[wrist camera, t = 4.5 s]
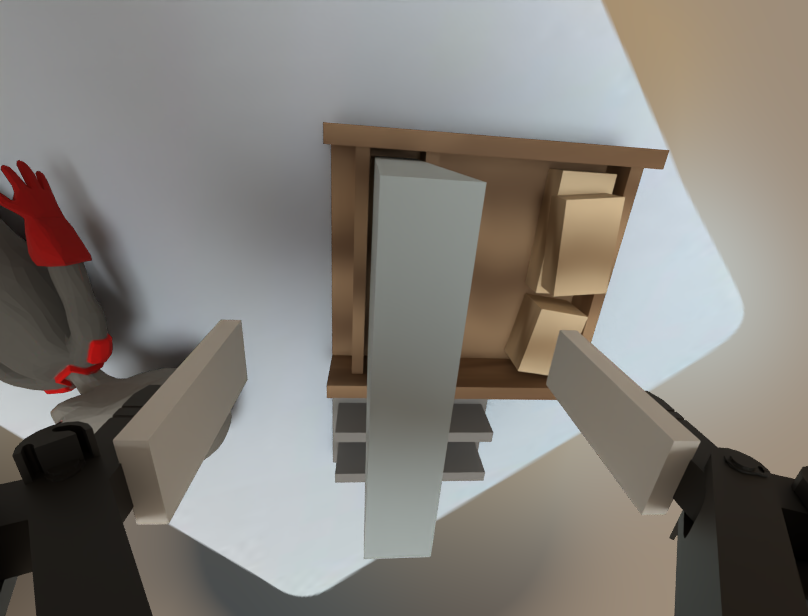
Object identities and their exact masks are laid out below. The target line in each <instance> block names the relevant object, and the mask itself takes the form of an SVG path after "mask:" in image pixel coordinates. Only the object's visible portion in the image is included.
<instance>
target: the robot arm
mask: <svg viewBox="0 0 808 616" xmlns="http://www.w3.org/2000/svg"><path fill="white" fill-rule="evenodd" d="M247 380H248V379H247V370H246V360H245V351H244V342H243V332H242V323H241V320H220V321H219V322H218V323H217V325H216V326H215V327H214V328H213V329H212V330H211V331H210V332H209V333H208V335H207V336H206V337H205V338H204V339H203V340H202V341H201V342H200V343H199V345H198V346H197V347H196V348H195V349H194V350H193V351H192V352H191V354H190V355H189V356H188V357H187V358H186V359H185V360H184V361H183V362H182V364H181V365H180V366H179V367H178V368H177V369H176V370H175V371H174V373H173V374H172V375H171V376H170V377H169V378H168V379H167V380H166V381H165V383H164V384H163V385H148V386H146V387H145V388H143V389H141V390H140V391H138V392H136V393H134V394H133V395H132V396H131V397H130V398H129V399H128V400H127V401H126V402H125V403H124V404H123V405H122V408H119V409H118V410H117V411H116V412H115V413H114V414H113V415H112V418H109V419H108V420H107V421H106V422H105V423H104V424H103V425H102V426H101V427H100V428H99V429H98V431H97V432H96V433H95V434H94V431H93V428H92V427H91V426H90V425H89V424H88V423H84V422H80V421H75V422H64V423H60V424H56V425H52V426H49V427H47V428H44V429H42V430H40V431H37V432H35V433H34V434H32V435H30V436H29V437H27V438H25V439H24V440H23V441H22V442H21V443H20V444H19V445H18V446H17V447H16V448H15V450H14V453H13V458H14V461H15V462H16V465H17V467H18V470H19V472H20V474H21V477H22V479H23V480H19V481H14V482H10V483H5V484H0V616H5V615H6V611H7V608H8V605H9V602H10V599H11V595H12V592H13V589H14V586H15V583H16V580H17V577H18V576H19V575H22V574H26V573H29V572H33V582H34V593H35V605H36V615H37V616H152V612H151V609H150V606H149V603H148V600H147V597H146V594H145V590H144V588H143V584H142V581H141V578H140V575H139V572H138V569H137V566H136V563H135V559H134V556H133V553H132V550H131V547H130V544H129V541H128V538H127V535H126V531H125V528H124V525H123V522H124V521H125V519H126V518H127V516H128V514H129V513H130V512H131V510H132V509H133V512H134V515H135V519H136V522H137V525H140V524H141V525H142V524H169V522H170V520H171V519H172V517H173V515H174V513H175V511H176V510H177V508H178V506H179V504H180V502H181V500H182V499H183V497H184V495H185V493H186V491H187V489H188V488H189V486H190V484H191V482H192V480H193V478H194V477H195V475H196V473H197V471H198V469H199V467H200V466H201V464H202V462H203V460H204V458H205V456H206V455H207V453H208V451H209V449H210V447H211V446H212V444H213V442H214V440H215V438H216V436H217V435H218V433H219V431H220V429H221V427H222V425H223V424H224V422H225V420H226V418H227V416H228V414H229V413H230V411H231V409H232V407H233V405H234V403H235V402H236V400H237V398H238V396H239V394H240V393H241V391H242V389H243V387H244V385H245V383H246V382H247ZM546 385H547V387H548V388H549V389H550V391H551V392H552V393H553V395H554V396H555V397H556V399H557V400H558V402H559V403H560V404H561V406H562V407H563V408H564V410H565V411H566V412H567V414H568V415H569V417H570V418H571V419H572V421H573V422H574V423H575V425H576V426H577V427H578V429H579V430H580V432H581V433H582V434H583V436H584V437H585V438H586V440H587V441H588V442H589V444H590V445H591V447H592V448H593V449H594V450H595V452H596V453H597V455H598V456H599V457H600V459H601V460H602V462H603V463H604V464H605V466H606V467H607V468H608V470H609V471H610V472H611V474H612V475H613V477H614V478H615V479H616V481H617V482H618V483H619V485H620V486H621V487H622V489H623V490H624V492H625V493H626V494H627V496H628V497H629V498H630V500H631V501H632V502H633V504H634V505H635V507H636V508H637V509H638V511H639V512H640V513H641V515H665V514H666V513H667V511H668V509H669V507H670V505H671V503H672V501H673V499H674V500H675V501H676V502H677V503H678V505H679V506H680V507H681V508H682V509H683V511H682V513H681V515H680V517H679V519H678V521H677V523H676V525H675V527H674V529H673V531H672V533H671V535H670V539H672V540H674V539H675V537H676V536H677V535H678V541H677V566H676V591H675V615H674V616H808V466H806V467H802V469H801V471H800V472H799V474H798V475H797V477H796V478H795V479H792V478H788V477H783V476H779V475H775V474H771V473H770V471H769V470H768V469H767V468H765V467H764V466H763V465H762V464H761V463H760V462H758V461H756V460H755V459H753V458H752V457H750V456H748V455H746V454H743V453H741V452H739V451H736V450H732V449H729V448H718V447H716V446H715V445H714V444H713V443H712V442H711V441H710V440H708V439H707V438H706V437H705V436H704V435H703V434H702V433H700V432H699V431H698V430H697V429H696V428H695V427H693V426H692V425H691V424H690V423H689V422H688V421H686V420H684V418H683V417H682V416H681V415H680V414H679V413H677V412H674V409H672V408H671V407H670V406H669V405H668V404H667V403H666V402H665V401H664V400H662V399H660V398H659V397H657V396H655V395H653V394H652V393H650V392H648V391H644V390H643V389H642V388H641V387H640V386H638V385H637V384H636V383H635V382H634V381H633V380H632V379H631V378H630V377H628V376H627V375H626V374H625V373H624V372H623V371H622V370H621V369H619V368H618V367H617V366H616V365H615V364H614V363H613V362H612V361H610V360H609V359H608V358H607V357H606V356H605V355H604V354H603V353H601V352H600V351H599V350H598V349H597V348H596V347H595V346H594V345H593V344H591V343H590V342H589V341H588V340H587V339H586V338H585V337H584V336H582V335H581V334H580V333H579V332H578V331H577V330H560V331H559V335H558V339H557V343H556V347H555V351H554V355H553V358H552V362H551V366H550V370H549V374H548V378H547V382H546Z"/></svg>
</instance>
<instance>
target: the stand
mask: <svg viewBox="0 0 808 616" xmlns="http://www.w3.org/2000/svg"><path fill="white" fill-rule="evenodd" d="M487 400H488V399H454V403H453V410H452V417H451V423H450V430H449V437H448V443H447V450H446V457H445V463H444V470H443V477H442V481H479V480H483V479H484V475H485V471H484V468H483V465H482V462H481V459H480V456H479V454H478V447H479V442H491V441H492V436H493V431H492V428H491V426H490V424H489V421H488V419H487V417H486V414H485V411H486V405H487ZM366 414H367V398H333V462H336V471H335V483H336V482H365V469H366Z"/></svg>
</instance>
